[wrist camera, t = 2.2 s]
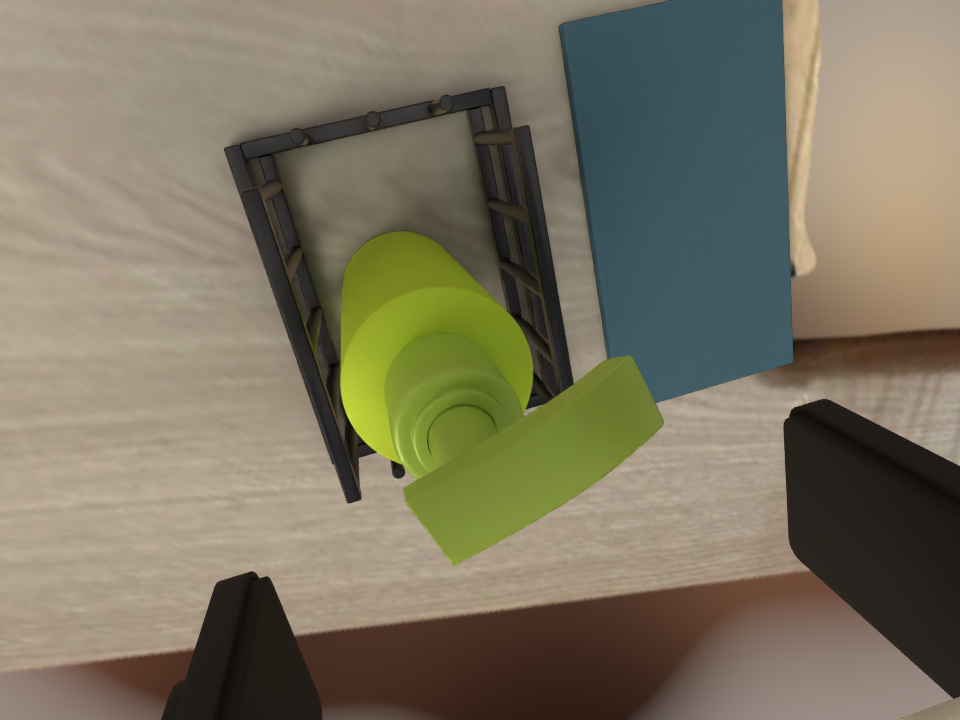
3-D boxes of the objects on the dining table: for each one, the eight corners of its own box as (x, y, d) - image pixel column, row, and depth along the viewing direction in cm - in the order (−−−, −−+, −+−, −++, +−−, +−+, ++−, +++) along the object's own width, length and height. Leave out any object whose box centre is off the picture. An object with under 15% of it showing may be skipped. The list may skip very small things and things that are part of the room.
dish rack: (225, 146, 27) (182, 146, 20) (501, 85, 29) (555, 63, 21) (332, 459, 33) (329, 548, 26) (557, 394, 34) (615, 461, 27)
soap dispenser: (498, 297, 32) (711, 502, 13) (384, 368, 32) (440, 672, 13) (440, 196, 30) (599, 274, 11) (317, 272, 30) (273, 476, 11)
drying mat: (558, 25, 28) (562, 23, 28) (774, -21, 30) (782, -24, 29) (615, 410, 35) (619, 414, 35) (786, 359, 37) (793, 362, 36)
